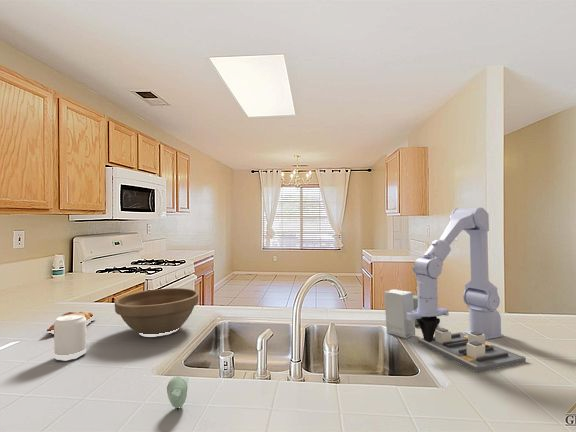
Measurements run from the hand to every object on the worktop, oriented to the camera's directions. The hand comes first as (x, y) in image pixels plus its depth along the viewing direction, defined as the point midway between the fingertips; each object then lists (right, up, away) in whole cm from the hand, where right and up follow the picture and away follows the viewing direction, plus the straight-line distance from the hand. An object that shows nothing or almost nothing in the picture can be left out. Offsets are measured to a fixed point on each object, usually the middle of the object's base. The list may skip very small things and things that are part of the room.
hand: (428, 340), depth 102 cm
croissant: (-125, -5, +24) cm, 127 cm away
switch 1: (+6, -1, +2) cm, 6 cm away
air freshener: (+6, -3, +25) cm, 26 cm away
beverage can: (-109, -4, -3) cm, 109 cm away
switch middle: (+14, -1, -1) cm, 14 cm away
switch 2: (+9, -1, -9) cm, 13 cm away
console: (+11, -2, -3) cm, 11 cm away
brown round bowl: (-91, -4, +19) cm, 93 cm away
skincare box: (-4, -3, +13) cm, 14 cm away
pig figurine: (-67, -3, -31) cm, 74 cm away
